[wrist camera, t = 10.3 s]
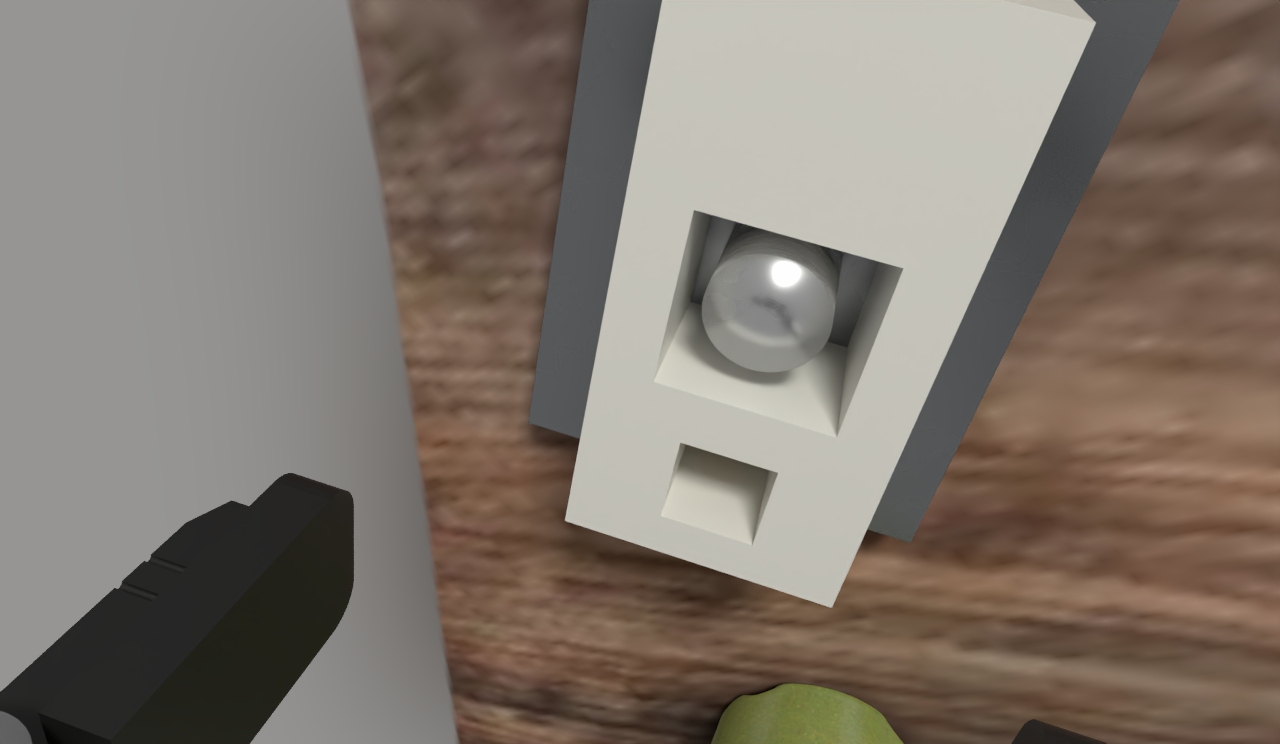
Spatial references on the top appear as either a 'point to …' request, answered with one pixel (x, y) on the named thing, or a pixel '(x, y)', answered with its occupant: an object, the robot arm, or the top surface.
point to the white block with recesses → (817, 213)
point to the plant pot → (802, 719)
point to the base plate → (988, 303)
